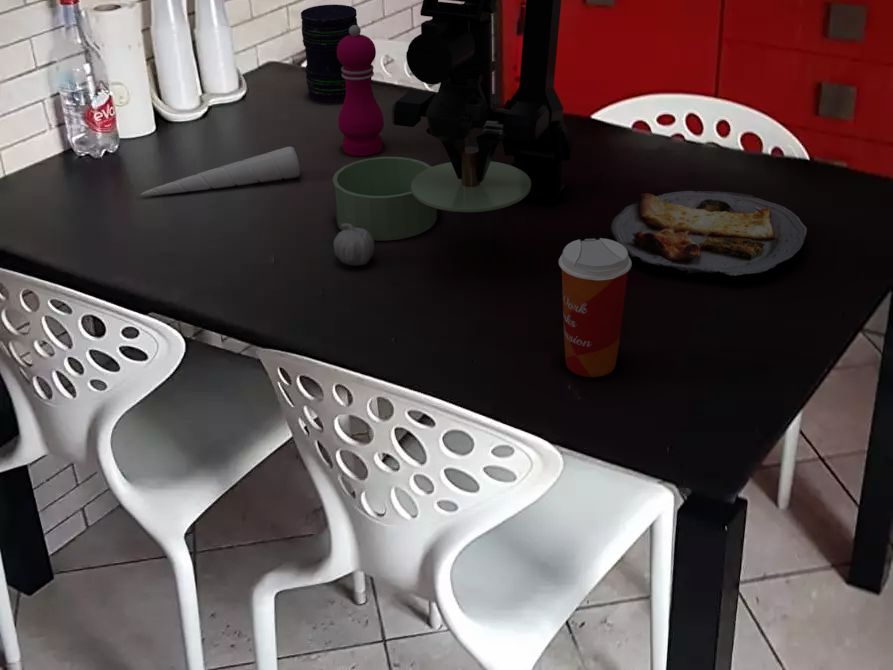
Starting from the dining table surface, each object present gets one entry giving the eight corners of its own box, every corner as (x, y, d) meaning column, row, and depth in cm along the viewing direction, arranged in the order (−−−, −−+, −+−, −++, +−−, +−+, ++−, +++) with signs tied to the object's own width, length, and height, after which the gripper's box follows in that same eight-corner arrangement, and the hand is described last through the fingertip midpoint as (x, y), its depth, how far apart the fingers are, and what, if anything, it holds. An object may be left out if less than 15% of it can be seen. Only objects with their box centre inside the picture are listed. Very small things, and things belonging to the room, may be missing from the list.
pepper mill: (379, 158, 183) (371, 32, 173) (334, 156, 184) (324, 31, 174) (390, 142, 189) (383, 19, 179) (347, 139, 190) (338, 17, 180)
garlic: (326, 257, 154) (323, 222, 151) (363, 247, 156) (360, 212, 154) (346, 275, 150) (343, 239, 147) (383, 265, 152) (381, 229, 149)
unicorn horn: (140, 187, 176) (135, 158, 173) (297, 170, 180) (295, 141, 178) (141, 200, 172) (135, 170, 169) (301, 182, 176) (298, 152, 174)
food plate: (590, 267, 150) (591, 243, 148) (633, 196, 168) (635, 174, 166) (790, 297, 141) (793, 272, 140) (812, 219, 160) (816, 196, 158)
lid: (546, 176, 151) (547, 135, 148) (507, 224, 139) (507, 180, 136) (438, 162, 156) (437, 122, 154) (391, 207, 144) (389, 165, 142)
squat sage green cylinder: (452, 205, 167) (451, 163, 164) (413, 247, 156) (411, 203, 153) (363, 192, 172) (360, 151, 169) (318, 232, 161) (315, 189, 158)
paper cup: (551, 348, 133) (553, 237, 126) (617, 343, 133) (623, 233, 126) (562, 385, 126) (565, 271, 119) (632, 380, 127) (639, 266, 120)
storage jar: (369, 87, 213) (364, 5, 205) (353, 105, 204) (347, 20, 197) (317, 84, 215) (310, 3, 207) (299, 102, 207) (291, 18, 199)
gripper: (368, 71, 136) (376, 194, 144) (520, 87, 130) (519, 215, 138) (407, 44, 145) (412, 161, 153) (551, 57, 138) (548, 179, 146)
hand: (470, 179), depth 147 cm, fingers closed on lid, 2 cm apart
